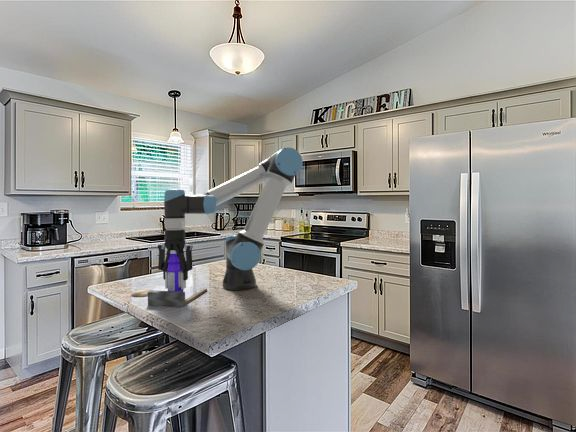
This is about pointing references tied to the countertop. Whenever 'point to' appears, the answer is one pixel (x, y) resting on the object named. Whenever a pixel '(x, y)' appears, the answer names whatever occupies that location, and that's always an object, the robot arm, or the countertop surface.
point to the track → (170, 298)
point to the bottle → (174, 272)
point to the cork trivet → (140, 293)
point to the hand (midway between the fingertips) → (175, 288)
